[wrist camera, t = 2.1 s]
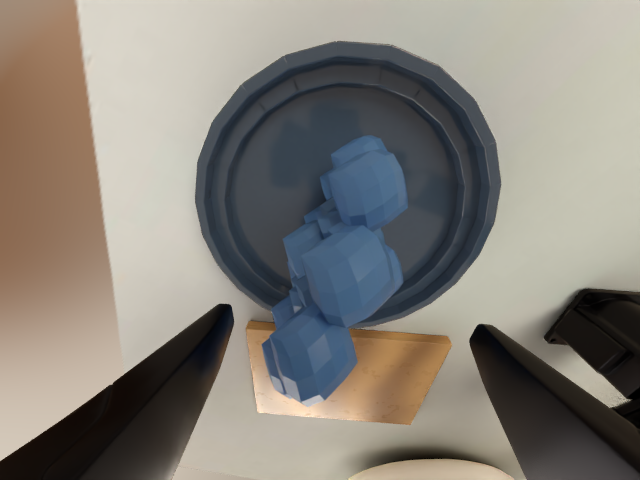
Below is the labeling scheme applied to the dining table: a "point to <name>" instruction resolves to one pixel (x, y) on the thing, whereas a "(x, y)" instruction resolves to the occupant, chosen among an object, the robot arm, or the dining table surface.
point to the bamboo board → (361, 377)
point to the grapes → (336, 272)
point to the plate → (432, 471)
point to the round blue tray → (315, 160)
